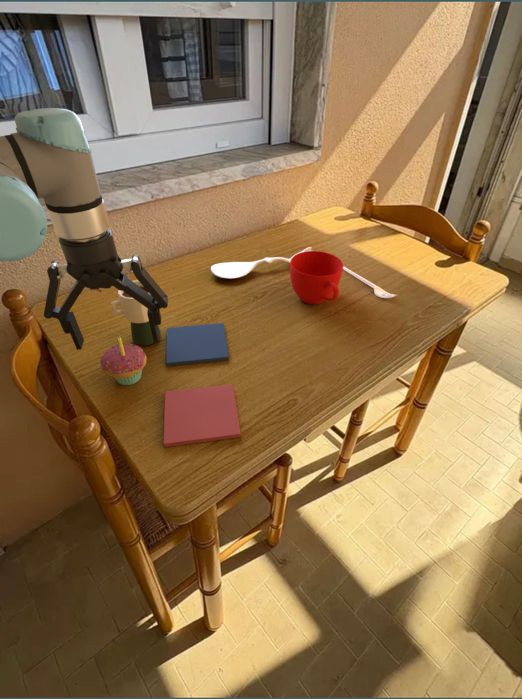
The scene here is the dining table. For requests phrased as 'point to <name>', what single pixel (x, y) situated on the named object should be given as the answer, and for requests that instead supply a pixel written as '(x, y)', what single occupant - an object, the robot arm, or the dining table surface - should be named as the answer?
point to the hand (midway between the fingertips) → (119, 341)
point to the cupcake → (124, 362)
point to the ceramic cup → (315, 276)
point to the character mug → (135, 317)
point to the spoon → (244, 266)
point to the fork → (377, 290)
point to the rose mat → (200, 415)
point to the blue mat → (196, 344)
